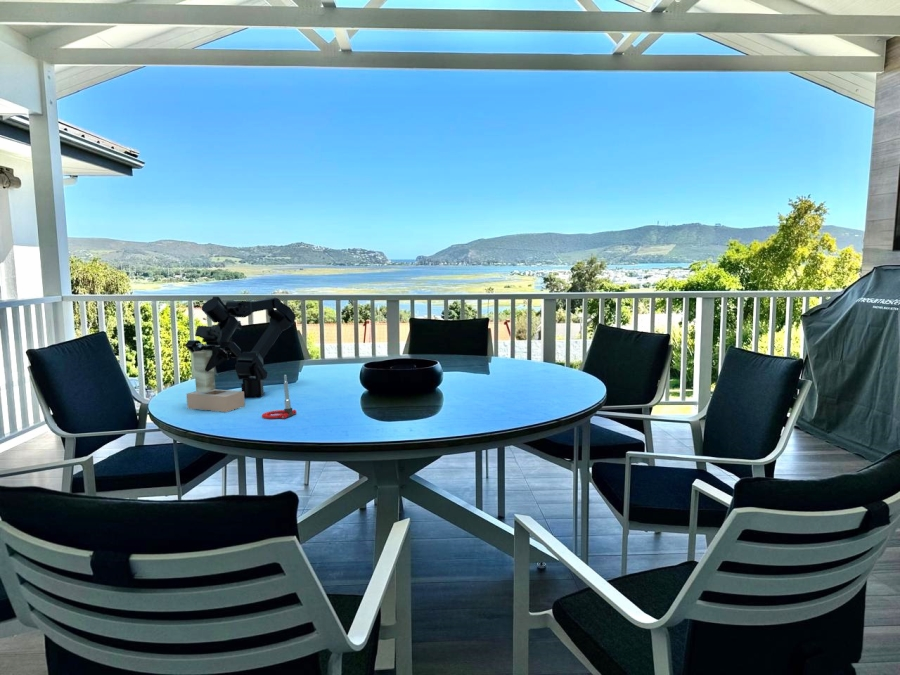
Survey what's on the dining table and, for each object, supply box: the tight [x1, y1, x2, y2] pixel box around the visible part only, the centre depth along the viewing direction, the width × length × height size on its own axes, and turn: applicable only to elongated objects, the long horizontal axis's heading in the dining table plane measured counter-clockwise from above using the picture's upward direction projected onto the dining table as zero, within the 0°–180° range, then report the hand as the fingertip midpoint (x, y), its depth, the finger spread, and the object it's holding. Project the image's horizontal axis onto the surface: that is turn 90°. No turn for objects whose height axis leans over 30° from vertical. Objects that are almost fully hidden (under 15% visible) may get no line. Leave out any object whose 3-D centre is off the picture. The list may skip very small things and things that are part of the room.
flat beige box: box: [186, 388, 246, 413], centre depth 190 cm, size 8×16×5 cm, turn 68°
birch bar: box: [192, 350, 216, 392], centre depth 185 cm, size 4×4×12 cm
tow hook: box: [261, 374, 297, 420], centre depth 177 cm, size 8×13×9 cm
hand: (200, 370), depth 183 cm, fingers closed on birch bar, 4 cm apart
